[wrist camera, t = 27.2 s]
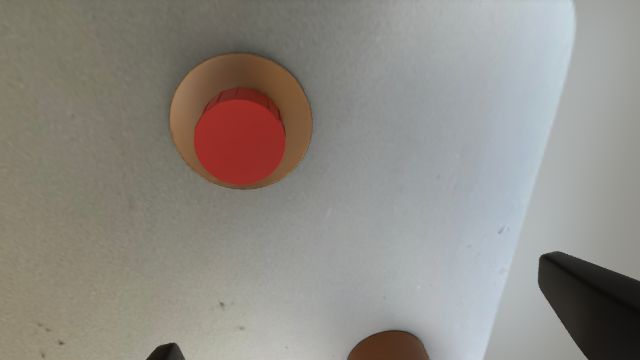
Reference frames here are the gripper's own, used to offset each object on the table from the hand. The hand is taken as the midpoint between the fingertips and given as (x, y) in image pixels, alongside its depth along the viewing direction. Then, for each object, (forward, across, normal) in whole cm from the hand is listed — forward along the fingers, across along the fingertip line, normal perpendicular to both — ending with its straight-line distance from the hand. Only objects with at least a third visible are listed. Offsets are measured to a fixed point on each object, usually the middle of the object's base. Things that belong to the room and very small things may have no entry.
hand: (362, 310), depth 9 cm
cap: (+10, +3, -2) cm, 10 cm away
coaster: (+12, +3, -2) cm, 13 cm away
